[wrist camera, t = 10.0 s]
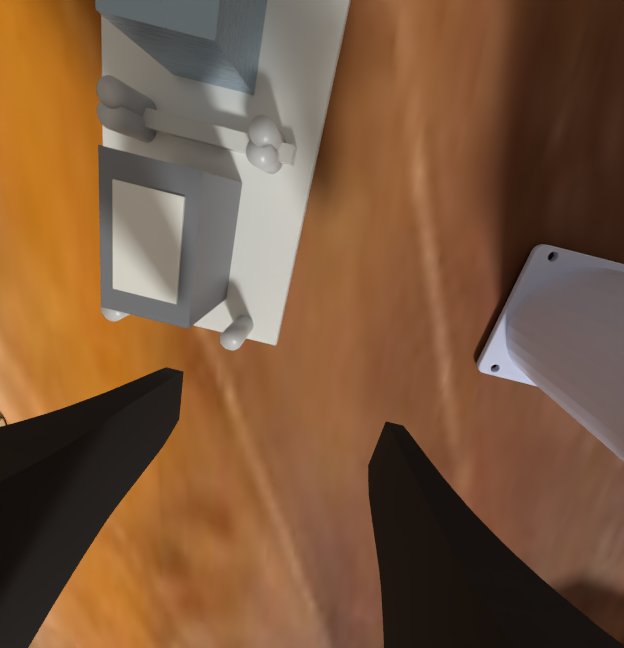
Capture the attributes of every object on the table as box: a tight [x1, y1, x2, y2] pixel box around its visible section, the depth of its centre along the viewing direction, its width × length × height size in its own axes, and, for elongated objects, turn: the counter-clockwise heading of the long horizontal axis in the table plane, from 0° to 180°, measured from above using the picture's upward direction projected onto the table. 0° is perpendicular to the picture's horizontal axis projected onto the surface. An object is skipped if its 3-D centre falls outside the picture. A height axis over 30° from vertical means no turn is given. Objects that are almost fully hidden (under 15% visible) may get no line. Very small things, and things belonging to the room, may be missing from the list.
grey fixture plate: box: [97, 0, 351, 350], centre depth 13 cm, size 11×21×6 cm, turn 167°
